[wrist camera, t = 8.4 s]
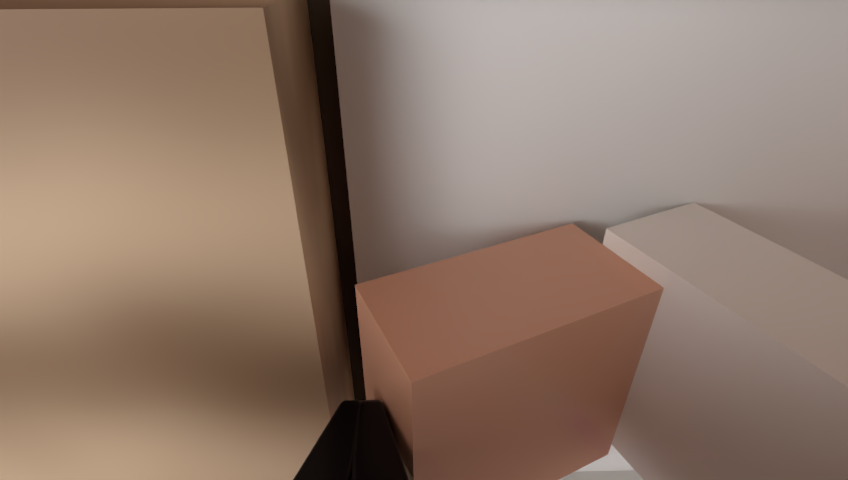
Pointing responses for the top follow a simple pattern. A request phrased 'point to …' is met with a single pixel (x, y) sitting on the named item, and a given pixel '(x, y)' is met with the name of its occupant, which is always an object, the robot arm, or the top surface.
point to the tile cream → (734, 356)
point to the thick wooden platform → (164, 242)
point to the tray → (589, 124)
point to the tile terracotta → (506, 356)
